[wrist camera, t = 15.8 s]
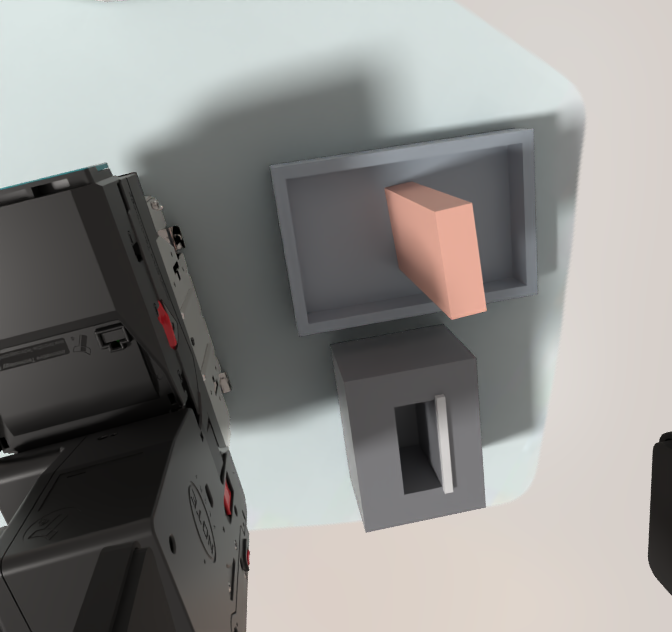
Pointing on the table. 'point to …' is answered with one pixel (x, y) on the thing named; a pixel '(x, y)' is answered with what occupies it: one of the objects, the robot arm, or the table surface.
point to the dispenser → (410, 425)
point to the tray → (376, 233)
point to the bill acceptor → (110, 408)
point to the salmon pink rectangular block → (437, 247)
